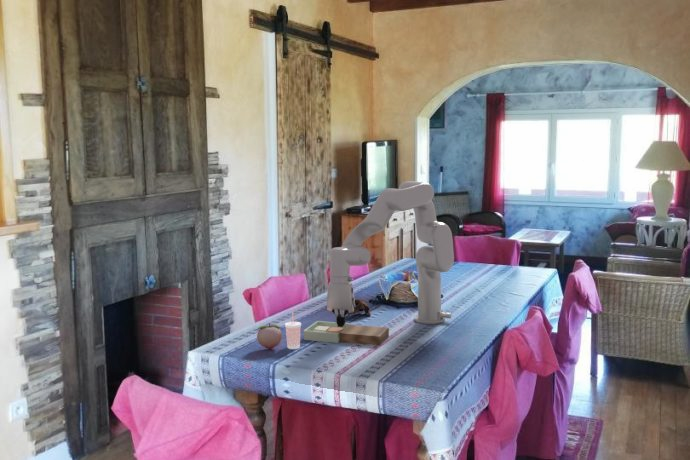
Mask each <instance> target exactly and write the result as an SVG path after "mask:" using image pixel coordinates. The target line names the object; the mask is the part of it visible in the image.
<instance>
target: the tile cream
mask: <svg viewBox="0 0 690 460" xmlns="http://www.w3.org/2000/svg"><path fill="white" fill-rule="evenodd" d="M328 329H330V327H328V326H317V327H316V328H315V329H314V331H318V332H327V330H328Z"/></svg>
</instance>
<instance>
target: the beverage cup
mask: <svg viewBox="0 0 690 460" xmlns="http://www.w3.org/2000/svg"><path fill="white" fill-rule="evenodd" d="M291 316H292V318H291V321H287V322H285V323H284V328H285V334H286V336H285V337H286V343H287V344H286V346H287V349H289V350H297V349H300V348H301V327H302V322H300V321H294V310H293V309H292V310H291Z"/></svg>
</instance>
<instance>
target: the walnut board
mask: <svg viewBox="0 0 690 460" xmlns="http://www.w3.org/2000/svg"><path fill="white" fill-rule="evenodd" d="M389 330H390V328H389V327H383V326H374V325H373V326H372V325H359V324H358V325H357V324H351V325H348V326H347V327H346V328H345V329H344V330H342V331H341V332H340V333H339V342H338V343H349V344H357V345H367V346H368V345H369V346H378V347H381V346H382V344H383V343H384V342H386V340H387V339H388V338H389V336H390V331H389Z"/></svg>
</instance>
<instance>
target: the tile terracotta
mask: <svg viewBox="0 0 690 460" xmlns="http://www.w3.org/2000/svg"><path fill="white" fill-rule="evenodd" d="M342 330H344V328H338V327H331V328H330V329H328V330H327V332H329V333H338V334H339V333H340V332H341V331H342Z"/></svg>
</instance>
